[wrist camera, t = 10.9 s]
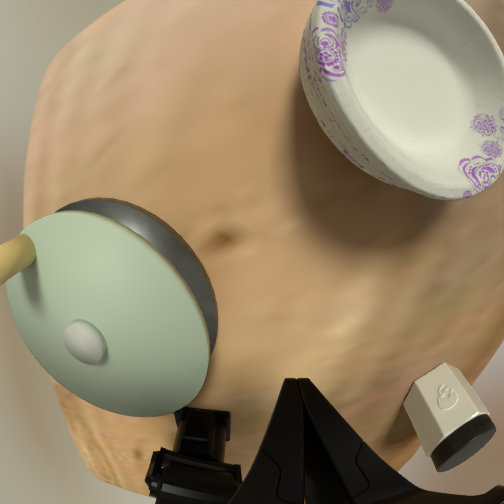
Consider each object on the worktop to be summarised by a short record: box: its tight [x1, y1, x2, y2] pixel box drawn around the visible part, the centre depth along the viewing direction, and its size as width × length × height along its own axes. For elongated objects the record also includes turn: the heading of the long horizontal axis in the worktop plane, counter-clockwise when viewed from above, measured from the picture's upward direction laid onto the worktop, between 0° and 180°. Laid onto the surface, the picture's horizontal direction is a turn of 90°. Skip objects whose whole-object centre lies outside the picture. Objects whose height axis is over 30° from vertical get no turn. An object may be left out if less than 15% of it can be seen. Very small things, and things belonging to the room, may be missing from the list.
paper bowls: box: [299, 0, 504, 201], centre depth 13 cm, size 15×15×8 cm
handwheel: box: [0, 210, 210, 417], centre depth 17 cm, size 20×20×6 cm
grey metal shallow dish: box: [55, 198, 218, 355], centre depth 21 cm, size 20×20×4 cm
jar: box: [403, 362, 496, 472], centre depth 22 cm, size 9×8×12 cm
